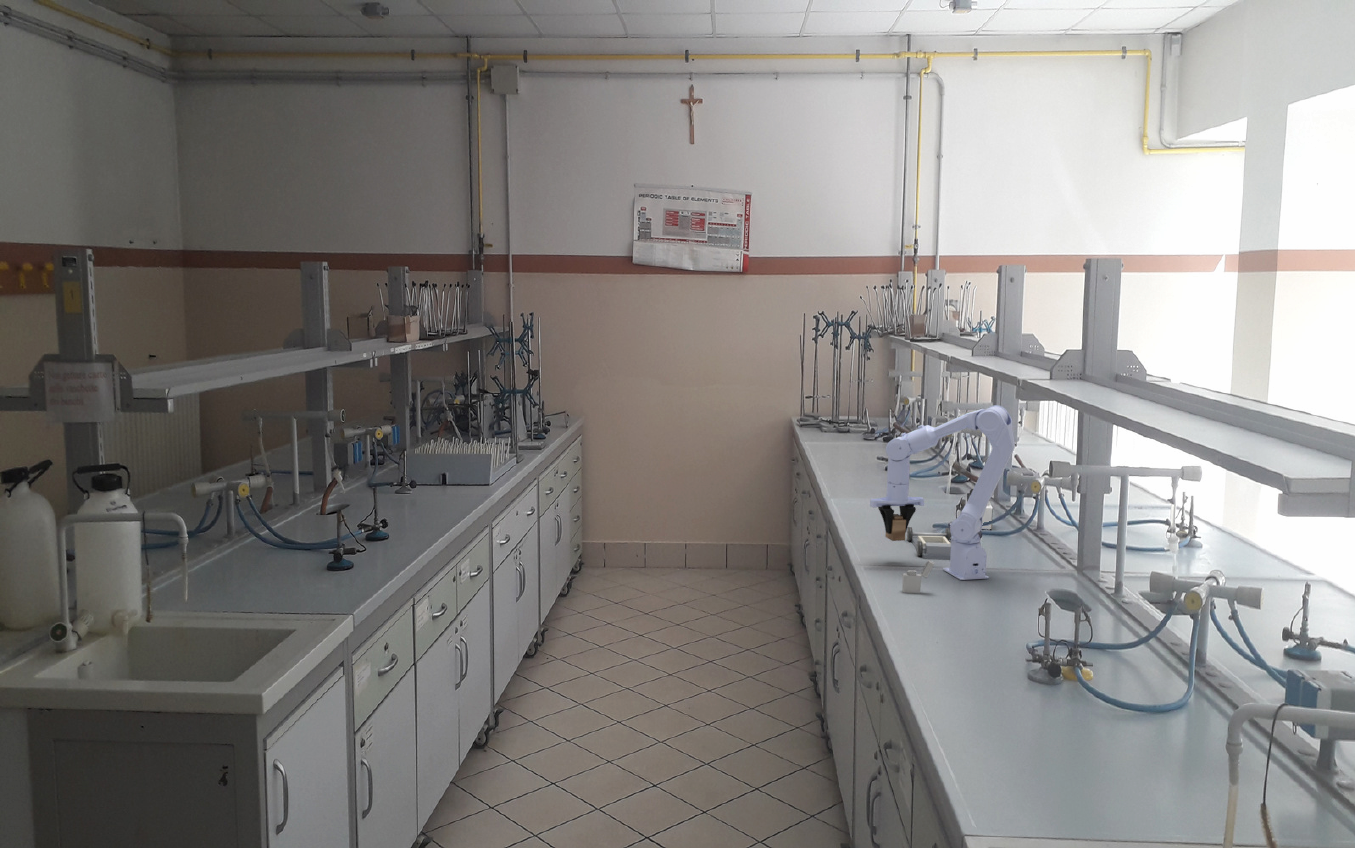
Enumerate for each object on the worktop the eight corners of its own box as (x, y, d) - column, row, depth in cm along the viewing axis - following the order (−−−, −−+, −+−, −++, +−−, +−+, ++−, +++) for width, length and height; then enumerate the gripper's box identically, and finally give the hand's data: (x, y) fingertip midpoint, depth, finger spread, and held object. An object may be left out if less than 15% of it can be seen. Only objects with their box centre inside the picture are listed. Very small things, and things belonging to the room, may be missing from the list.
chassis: (964, 559, 261) (964, 545, 261) (919, 558, 262) (920, 544, 262) (947, 539, 283) (947, 525, 283) (905, 537, 284) (906, 524, 283)
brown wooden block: (905, 540, 255) (906, 517, 254) (892, 540, 254) (893, 517, 253) (897, 536, 259) (898, 513, 258) (885, 536, 258) (886, 513, 258)
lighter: (902, 592, 232) (904, 560, 231) (902, 590, 234) (903, 558, 233) (933, 593, 232) (934, 561, 231) (931, 591, 233) (933, 559, 232)
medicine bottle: (991, 530, 295) (994, 492, 293) (967, 528, 296) (969, 490, 294) (989, 524, 301) (991, 487, 300) (965, 523, 303) (967, 486, 301)
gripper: (916, 478, 260) (914, 527, 262) (866, 480, 257) (864, 529, 259) (928, 483, 253) (926, 534, 255) (877, 485, 250) (875, 536, 252)
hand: (895, 532), depth 256 cm, fingers closed on brown wooden block, 4 cm apart
